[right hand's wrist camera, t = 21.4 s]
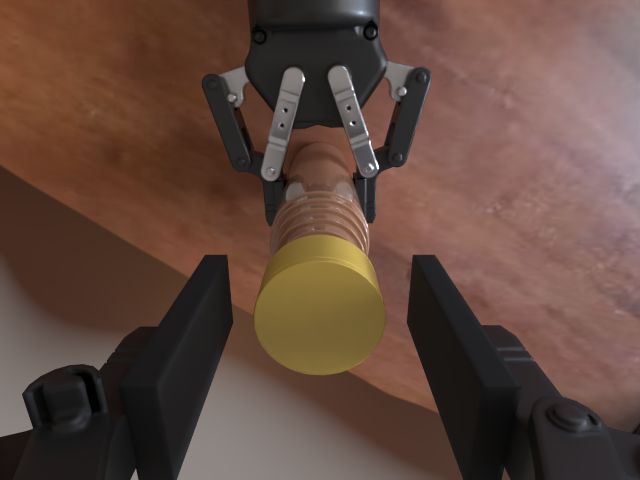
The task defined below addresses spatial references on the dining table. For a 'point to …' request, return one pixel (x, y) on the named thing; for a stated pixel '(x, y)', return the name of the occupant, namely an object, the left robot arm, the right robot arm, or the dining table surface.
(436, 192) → the dining table surface
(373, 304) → the cap
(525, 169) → the dining table surface
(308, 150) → the bottle
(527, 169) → the dining table surface
